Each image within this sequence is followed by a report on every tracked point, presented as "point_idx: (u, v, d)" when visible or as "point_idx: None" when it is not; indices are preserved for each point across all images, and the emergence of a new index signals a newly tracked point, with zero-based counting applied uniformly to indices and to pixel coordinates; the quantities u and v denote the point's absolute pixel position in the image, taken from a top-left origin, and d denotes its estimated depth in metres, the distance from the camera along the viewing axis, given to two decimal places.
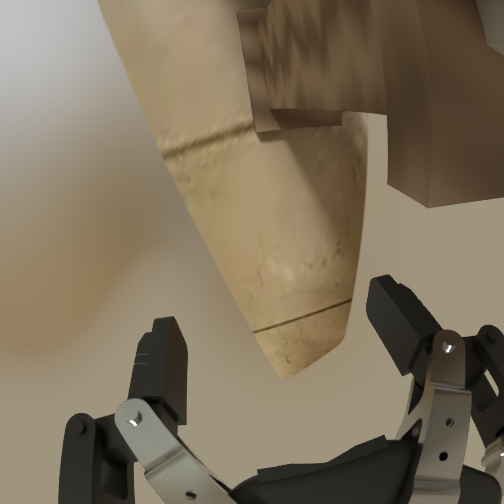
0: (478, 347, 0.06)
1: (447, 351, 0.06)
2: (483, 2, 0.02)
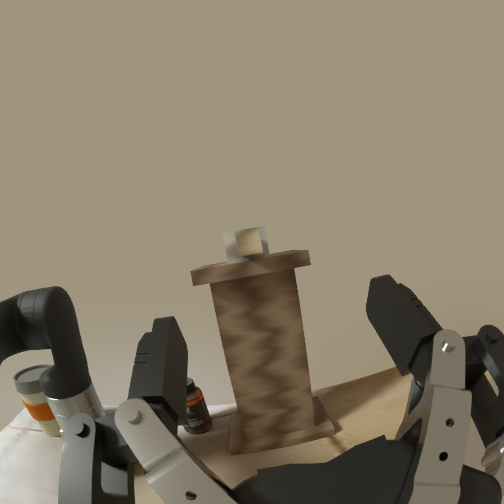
0: (478, 347, 0.06)
1: (447, 351, 0.06)
2: (258, 256, 0.39)
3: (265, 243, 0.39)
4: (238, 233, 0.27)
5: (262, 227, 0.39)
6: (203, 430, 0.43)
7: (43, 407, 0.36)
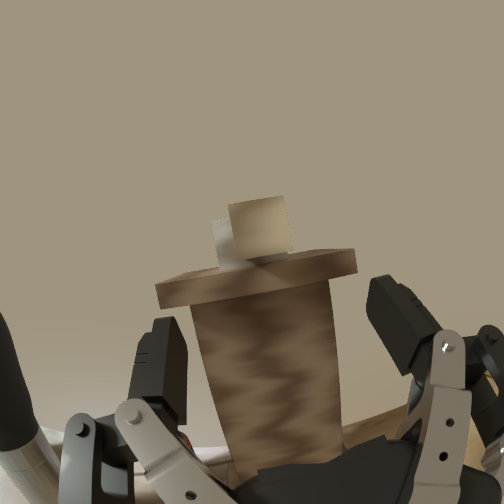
0: (478, 347, 0.06)
1: (447, 351, 0.06)
2: (270, 258, 0.24)
3: None
4: (236, 206, 0.11)
5: None
6: None
7: None
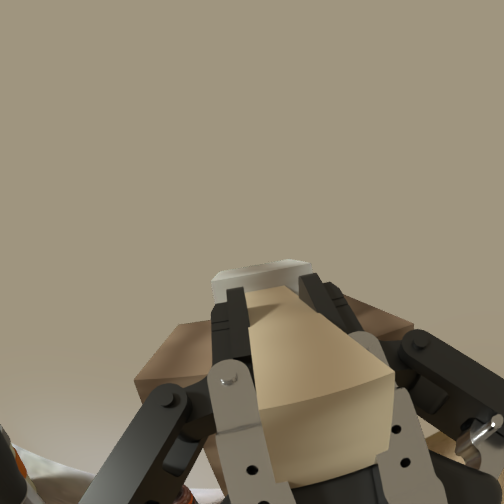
0: (406, 360, 0.07)
1: None
2: None
3: None
4: (281, 412, 0.04)
5: (306, 266, 0.16)
6: None
7: None
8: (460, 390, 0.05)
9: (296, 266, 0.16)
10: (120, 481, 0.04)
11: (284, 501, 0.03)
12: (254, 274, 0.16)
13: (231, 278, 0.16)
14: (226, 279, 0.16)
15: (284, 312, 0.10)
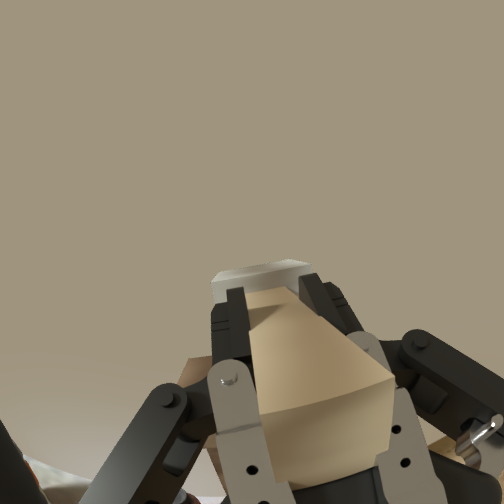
0: (406, 360, 0.07)
1: None
2: None
3: None
4: (282, 417, 0.04)
5: (307, 267, 0.16)
6: None
7: None
8: (460, 390, 0.05)
9: (296, 267, 0.16)
10: (120, 481, 0.04)
11: (284, 501, 0.03)
12: (254, 275, 0.16)
13: (231, 279, 0.16)
14: (226, 280, 0.16)
15: (284, 314, 0.10)
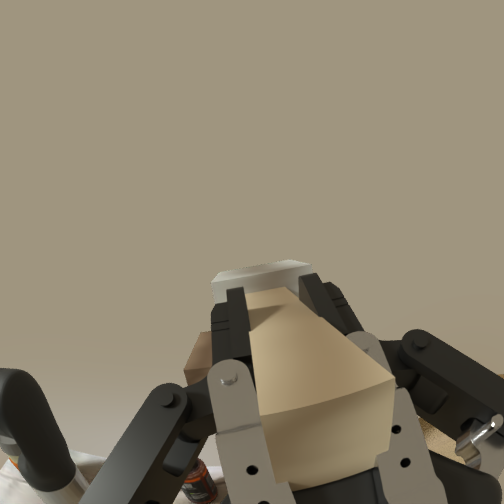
0: (406, 360, 0.07)
1: None
2: None
3: None
4: (282, 418, 0.04)
5: (307, 268, 0.16)
6: (208, 501, 0.30)
7: None
8: (460, 390, 0.05)
9: (296, 267, 0.16)
10: (120, 481, 0.04)
11: (284, 501, 0.03)
12: (254, 275, 0.16)
13: (231, 279, 0.16)
14: (226, 280, 0.16)
15: (284, 314, 0.10)
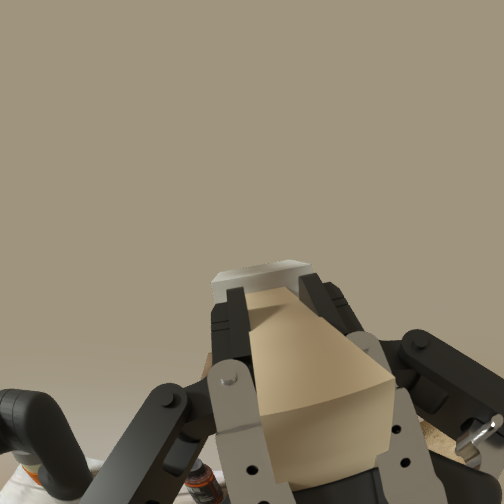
0: (406, 360, 0.07)
1: None
2: None
3: None
4: (282, 418, 0.04)
5: (307, 268, 0.16)
6: (215, 503, 0.32)
7: None
8: (460, 390, 0.05)
9: (296, 267, 0.16)
10: (120, 481, 0.04)
11: (284, 501, 0.03)
12: (254, 275, 0.16)
13: (231, 279, 0.16)
14: (226, 280, 0.16)
15: (284, 315, 0.10)
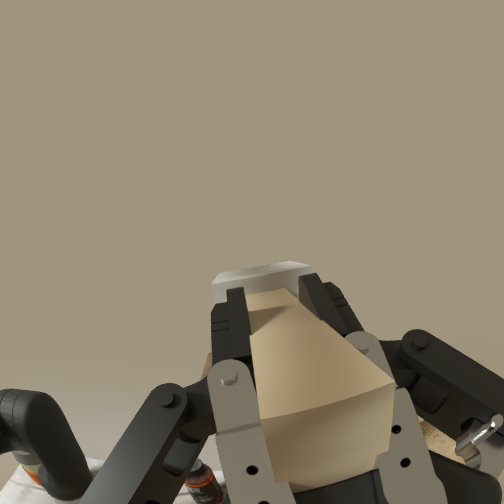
0: (406, 360, 0.07)
1: None
2: None
3: None
4: (283, 422, 0.04)
5: (307, 269, 0.16)
6: (215, 503, 0.32)
7: None
8: (460, 390, 0.05)
9: (296, 269, 0.16)
10: (120, 481, 0.04)
11: (284, 501, 0.03)
12: (254, 277, 0.16)
13: (231, 281, 0.16)
14: (226, 282, 0.16)
15: (285, 317, 0.10)
